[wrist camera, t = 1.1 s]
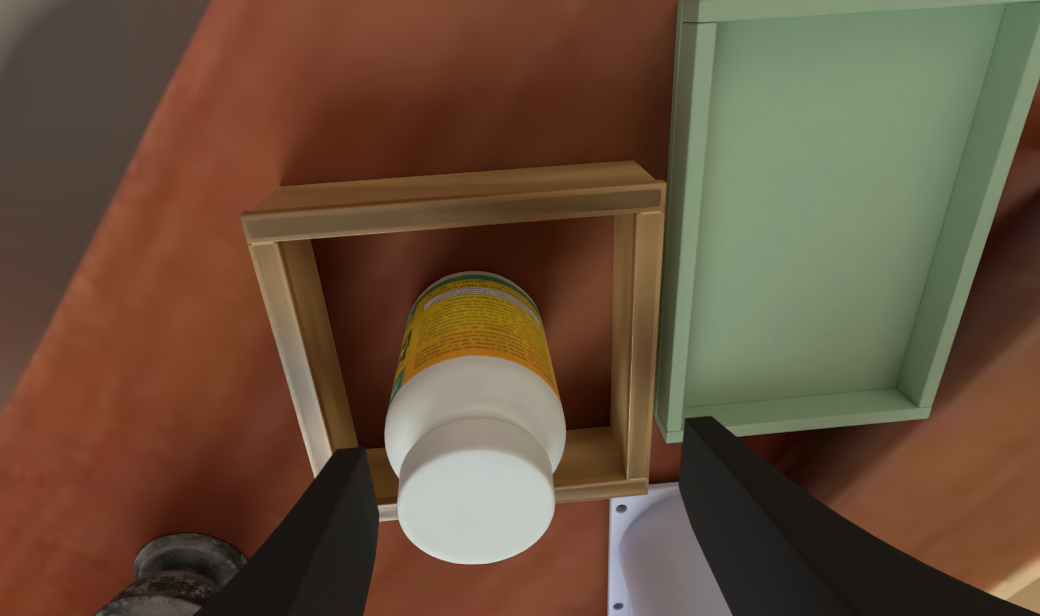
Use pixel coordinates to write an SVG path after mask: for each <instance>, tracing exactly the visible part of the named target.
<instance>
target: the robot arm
mask: <svg viewBox="0 0 1040 616" xmlns="http://www.w3.org/2000/svg"><path fill="white" fill-rule="evenodd" d="M619 505H623V506H619ZM379 515H380V514H379V510H378V505H377V500H376V496H375V491H374V487H373V482H372V477H371V473H370V468H369V464H368V459H367V454H366V450H365V447H355V448H344V449H337V450H336V451H335V452H334V453H333V454H332V456H331V457H330V458H329V460H328V461H327V462H326V464H325V465H324V467H323V468H322V469H321V471H320V472H319V474H318V475H317V476H316V478H315V479H314V480H313V482H312V483H311V484H310V486H309V487H308V488H307V490H306V491H305V492H304V494H303V495H302V497H301V498H300V499H299V500H298V502H297V503H296V504H295V505H294V507H293V508H292V509H291V511H290V512H289V513H288V514H287V516H286V517H285V518H284V519H283V521H282V522H281V523H280V524H279V526H278V527H277V528H276V529H275V530H274V532H273V533H272V534H271V535H270V536H269V537H268V539H267V540H266V541H265V542H264V543H263V544H262V546H261V547H260V548H259V549H258V550H257V551H256V552H255V554H254V555H253V556H252V557H251V558H250V559H249V560H248V561H247V563H246V564H245V565H244V566H243V567H242V568H241V569H240V570H239V571H238V572H237V573H236V574H235V575H234V576H233V577H232V578H231V579H230V580H229V581H228V582H227V583H226V584H225V585H224V586H223V587H222V588H221V589H220V590H219V591H218V592H217V593H216V594H215V595H214V596H213V597H212V598H211V599H210V600H209V601H208V602H207V603H206V604H205V605H204V606H203V607H202V608H200V609H199V610H198V611H197V612H196V613H195V614H194V615H193V616H363V613H364V609H365V604H366V600H367V595H368V591H369V586H370V581H371V577H372V572H373V567H374V562H375V556H376V547H377V538H378V526H379ZM607 614H608V616H1040V614H1038V613H1036V612H1033V611H1030V610H1028V609H1025V608H1023V607H1020V606H1018V605H1015V604H1013V603H1010V602H1008V601H1005V600H1003V599H1000V598H998V597H995V596H993V595H991V594H988V593H986V592H984V591H982V590H980V589H977V588H975V587H973V586H971V585H969V584H966V583H964V582H962V581H960V580H958V579H955V578H953V577H951V576H949V575H947V574H945V573H943V572H941V571H939V570H937V569H935V568H933V567H931V566H929V565H927V564H925V563H923V562H921V561H919V560H917V559H915V558H913V557H911V556H910V555H908V554H906V553H904V552H902V551H900V550H898V549H896V548H894V547H893V546H891V545H889V544H887V543H885V542H884V541H882V540H880V539H878V538H877V537H875V536H873V535H872V534H870V533H868V532H867V531H865V530H863V529H862V528H860V527H859V526H857V525H855V524H854V523H852V522H850V521H849V520H847V519H846V518H844V517H842V516H841V515H839V514H838V513H836V512H835V511H833V510H832V509H830V508H829V507H827V506H826V505H824V504H823V503H821V502H820V501H819V500H817V499H816V498H814V497H813V496H811V495H810V494H809V493H807V492H806V491H804V490H803V489H802V488H800V487H799V486H798V485H796V484H795V483H794V482H792V481H791V480H790V479H788V478H787V477H786V476H784V475H783V474H782V473H780V472H779V471H778V470H777V469H775V468H774V467H773V466H772V465H770V464H769V463H768V462H766V461H765V460H764V459H763V458H762V457H760V456H759V455H758V454H757V453H755V452H754V451H753V450H752V449H751V448H749V447H748V446H747V445H746V444H745V443H743V442H742V441H741V440H740V439H739V438H738V437H736V436H735V435H734V434H733V433H732V432H730V431H729V430H728V429H727V428H726V427H725V426H723V425H722V424H721V423H720V422H719V421H717V420H716V419H715V418H714V417H712V416H703V417H692V418H685V423H684V433H683V443H682V453H681V463H680V474H679V482H670V483H660V484H650V485H648V495H640V496H630V497H620V498H610V505H609V555H608V606H607Z"/></svg>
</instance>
